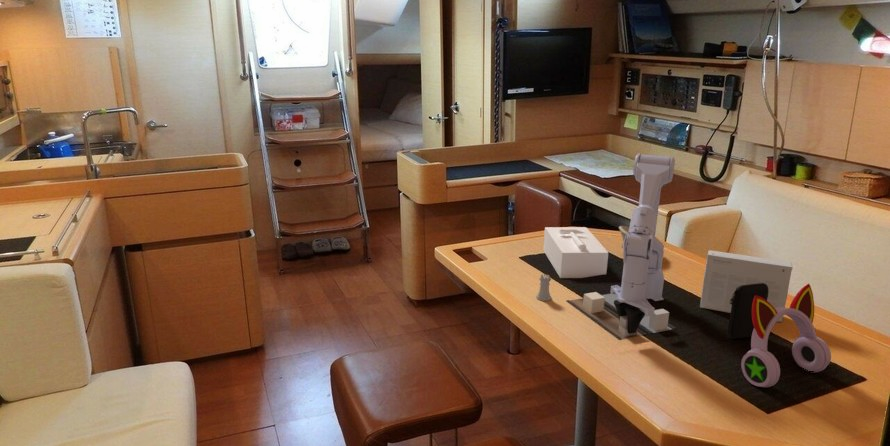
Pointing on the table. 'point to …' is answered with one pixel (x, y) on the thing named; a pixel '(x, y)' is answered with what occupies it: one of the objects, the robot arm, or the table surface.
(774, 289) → the skincare box
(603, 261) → the white rectangular block
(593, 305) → the cube
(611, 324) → the strip
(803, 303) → the headphones
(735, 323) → the carrying case or bag
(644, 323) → the strip
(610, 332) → the lane rails
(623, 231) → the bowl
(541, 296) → the rook chess piece
